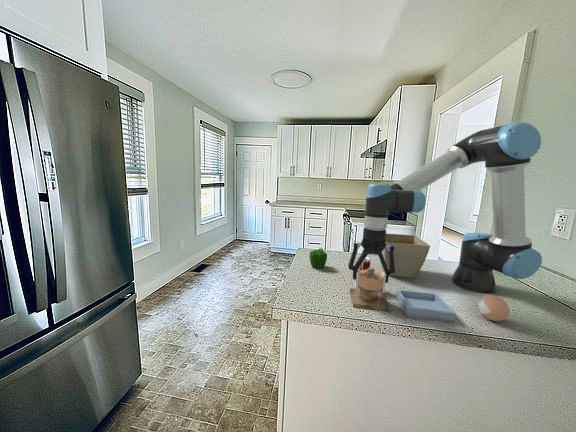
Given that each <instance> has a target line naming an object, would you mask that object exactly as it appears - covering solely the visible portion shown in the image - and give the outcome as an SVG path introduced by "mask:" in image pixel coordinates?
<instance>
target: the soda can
mask: <svg viewBox="0 0 576 432" xmlns="http://www.w3.org/2000/svg"><path fill="white" fill-rule="evenodd" d="M357 258H358V259H359V257H357ZM358 259H357V260H358ZM370 260H371V259H370V258H368V257H367V256H366V257H365V259H364V261H363V262H362V264H361V266H360V267H359V269H358V270H359V271H361V270H367V269H368V268H371V261H370ZM358 289H360V286H358Z"/></svg>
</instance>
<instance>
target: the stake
mask: <svg viewBox="0 0 576 432" xmlns="http://www.w3.org/2000/svg"><path fill="white" fill-rule="evenodd" d="M374 271H375V268H372V267H370V268H368V269H367V276H369V277H374ZM349 294H350V299H351V304H352V307H353V308H361V309H369V310H377V311H387V312H390V306H389V304H388V301H387V299H386V297H385V295H384V292H382V291H381V290H380V291H379V290H377V291H376V290H366V289H364V288H362V287H360V288H358V290H356V289H355V288H351V287H350V288H349Z"/></svg>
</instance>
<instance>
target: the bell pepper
mask: <svg viewBox="0 0 576 432" xmlns="http://www.w3.org/2000/svg"><path fill="white" fill-rule="evenodd" d="M327 261H328V254H327V252H325V251H324V248H322V247H319V248H318V249H314V250H310V251H309V262H310V266H311V267H312V268H315V269H316V268H318V269H323V268H324V267H326V266H325V265H326V264H327Z"/></svg>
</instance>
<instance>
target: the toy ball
mask: <svg viewBox="0 0 576 432" xmlns="http://www.w3.org/2000/svg"><path fill="white" fill-rule="evenodd" d="M478 309H479V311H480V312H479V313H480V314H481V316H483V317H484V318H486V319H487V320H489V321H492V322H493V321H494V322H501V321H504V320H506V319H507V318H508V317H509V315H510V307H509V304H507V302H506V301H505V300H504V299H503V298H502V297H499V296H497V295H494V294H493V295H492V294H486V295H484V296H482V297H481V300H480V301H479V302H478Z"/></svg>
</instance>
